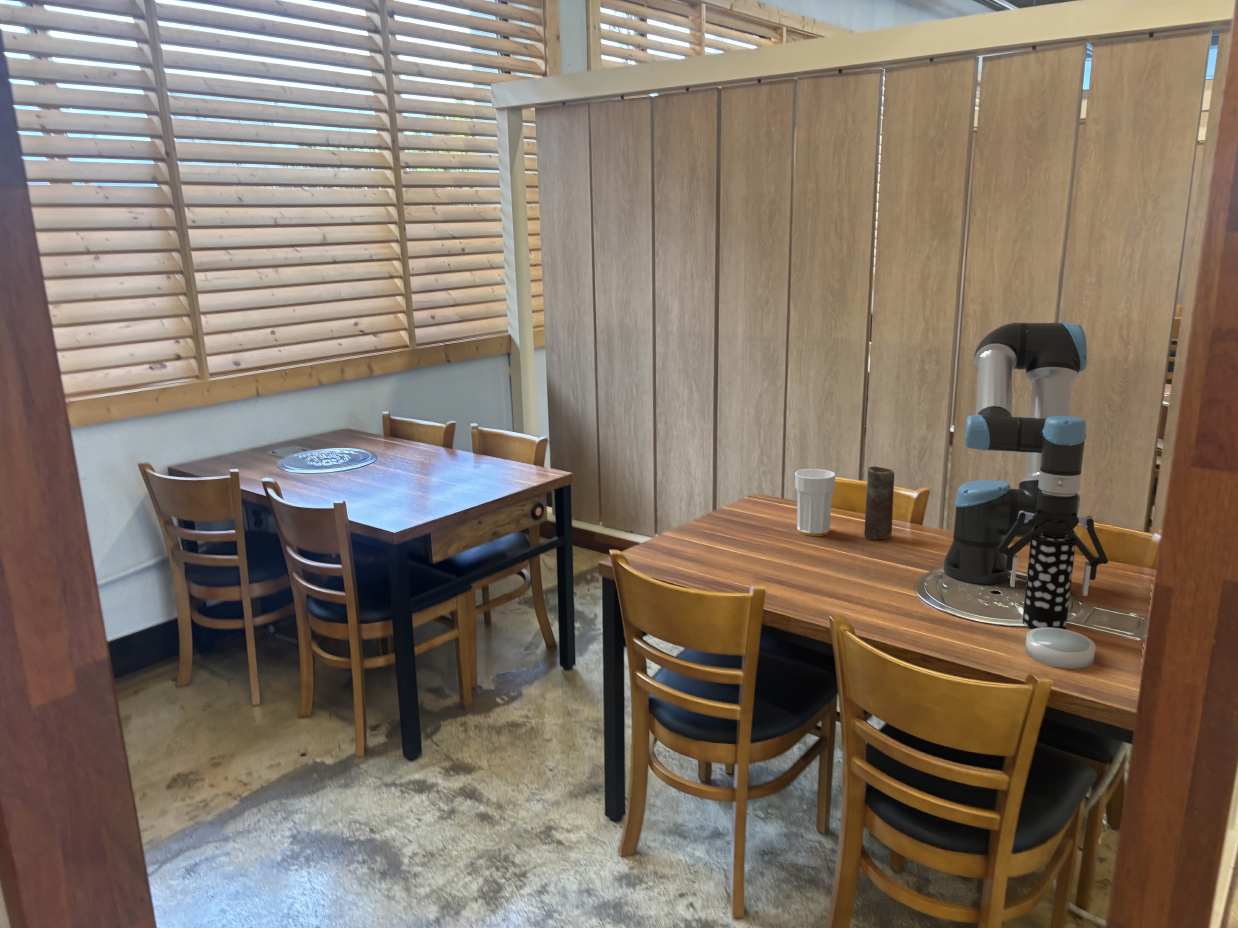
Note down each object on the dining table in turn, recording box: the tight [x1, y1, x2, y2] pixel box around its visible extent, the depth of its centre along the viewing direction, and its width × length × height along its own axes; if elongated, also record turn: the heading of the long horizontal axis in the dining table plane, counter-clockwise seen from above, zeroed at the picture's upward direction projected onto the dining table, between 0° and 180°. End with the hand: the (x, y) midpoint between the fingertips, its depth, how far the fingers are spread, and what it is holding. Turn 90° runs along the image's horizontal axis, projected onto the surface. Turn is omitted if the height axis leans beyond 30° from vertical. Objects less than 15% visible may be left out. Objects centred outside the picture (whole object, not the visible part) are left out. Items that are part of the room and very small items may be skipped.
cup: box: [794, 468, 836, 537], centre depth 238 cm, size 11×11×17 cm
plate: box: [1024, 627, 1096, 670], centre depth 163 cm, size 12×12×3 cm
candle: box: [863, 466, 895, 541], centre depth 232 cm, size 8×7×20 cm
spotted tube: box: [1022, 533, 1077, 630], centre depth 174 cm, size 8×8×20 cm
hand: (1047, 589), depth 174 cm, fingers open, 13 cm apart
